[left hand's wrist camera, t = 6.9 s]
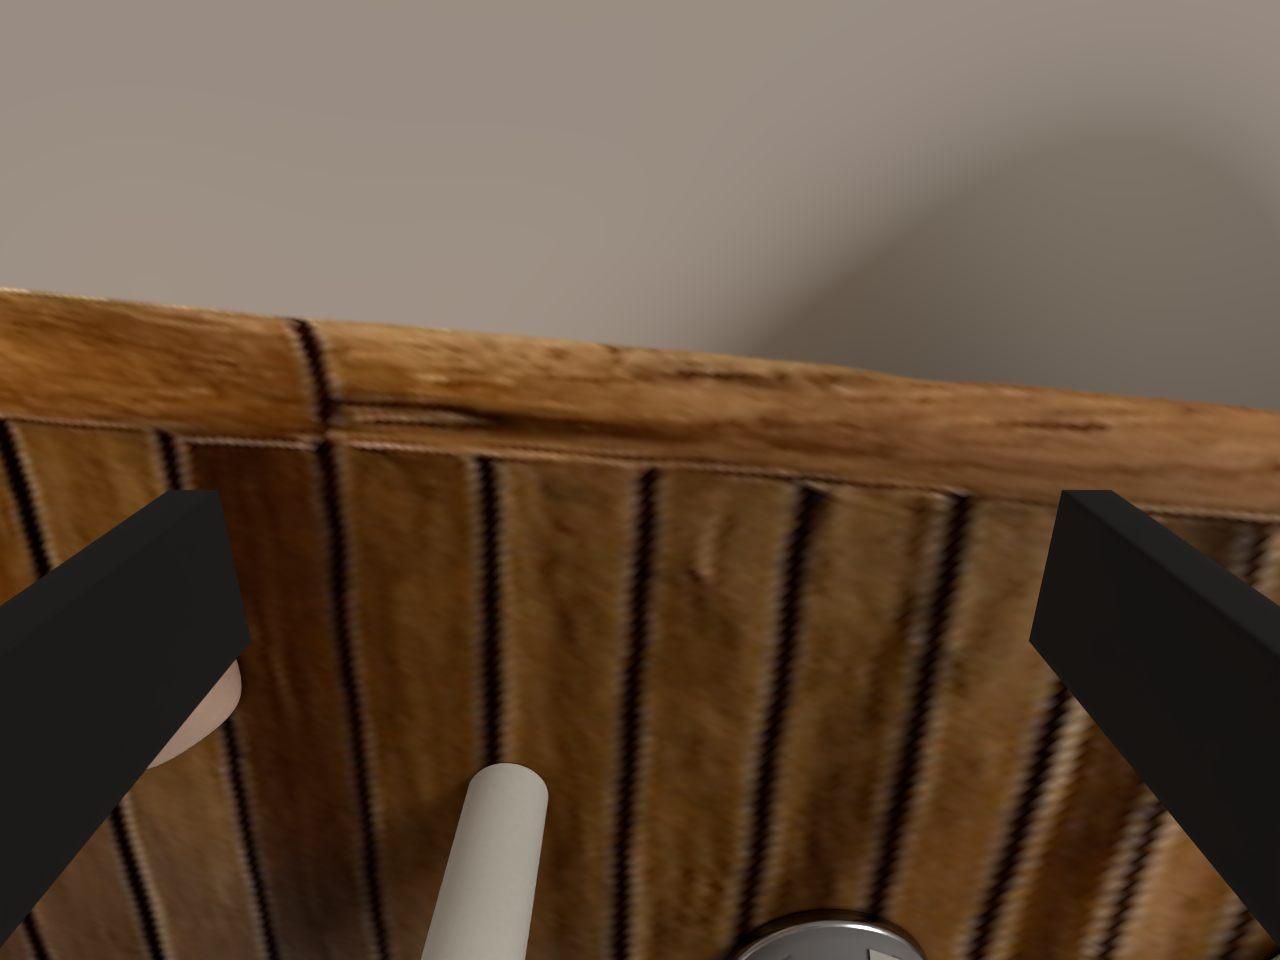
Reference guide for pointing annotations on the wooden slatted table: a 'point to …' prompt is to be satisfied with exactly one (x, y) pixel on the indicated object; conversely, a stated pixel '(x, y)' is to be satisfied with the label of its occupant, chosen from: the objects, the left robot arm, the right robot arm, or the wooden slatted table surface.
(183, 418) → the wooden slatted table surface
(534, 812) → the bottle
